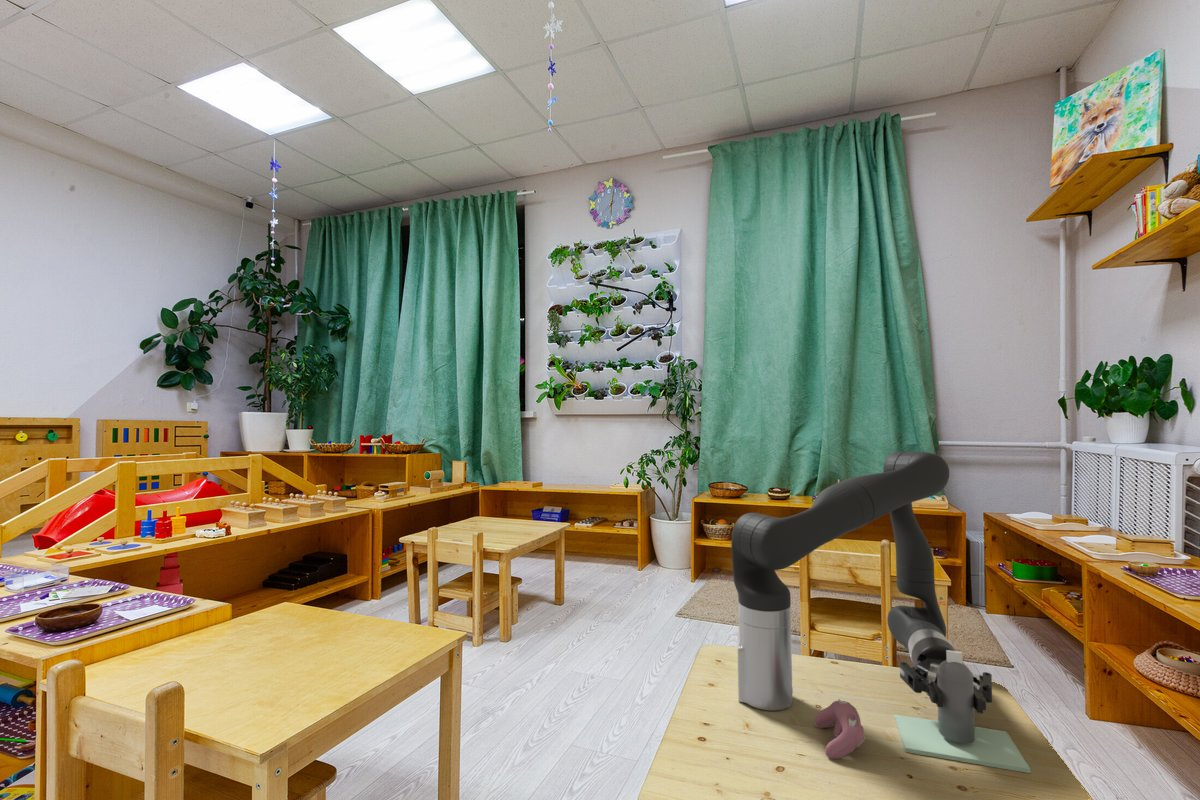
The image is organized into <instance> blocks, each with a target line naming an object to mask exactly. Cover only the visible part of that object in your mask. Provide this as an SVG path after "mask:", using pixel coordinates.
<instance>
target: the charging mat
mask: <svg viewBox="0 0 1200 800" xmlns="http://www.w3.org/2000/svg"><path fill="white" fill-rule="evenodd" d="M894 720H895V721H894V722H895V724H896V726H897V730H898V733H899V736H900V740H901V743H902V746H903V748H904V752H905V753H909V754H910V753H911V754H915V755H916V754H917V755H921V756H929V757H933V758H940V759H946V760H951V761H957V762H963V763H967V764H968V763H970V764H975V765H981V766H986V767H993V768H997V769H1004V770H1009V771H1013V772H1014V771H1016V772H1019V773H1020V772H1021V773H1028V774H1031V773H1032V772H1031V768H1030V766H1029V764H1028V763H1027V762H1026V761H1027V760H1025V758H1024V757H1023V755H1022V754H1021V752H1020V751H1019V749H1018V747H1017V745H1016V744H1015V743H1014V742H1013V741H1014V740H1012V738H1011V737H1010V735H1009V734H1008V732H1007V731H1005V730H999V729H992V728H985V727H979V726H975V741H974V742H972V743H959V742H955V741H952V740H949V739H947V738H945V737H944V736H942V735H941V734H940V732H939V725H938V720H934V719H927V718H920V717H913V716H906V715H900V714H894Z"/></svg>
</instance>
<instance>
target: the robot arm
mask: <svg viewBox="0 0 1200 800" xmlns="http://www.w3.org/2000/svg"><path fill="white" fill-rule="evenodd" d="M882 469H883V472H878V473H871V474H865V475H859V476H854V477H853V476H852V477H850V478H847V479H843V480H841V481H839V482H836V483H834V484H831V485H830V486H827V487H826V488H824V489H823V490H822V491H820V492H819V494H818V495H817V496H816V498H815V499H814V501H813V503H812V505H811V506H810V507H809V508H808V509H806V510H803V511H802V512H800V513H796V514H794V515H793V514H792V515H789V516H785V517H777V516H776V517H775V516H771V515H767V514H763V513H758V512H747V513H745V514H742V515H741V516H740V517H738V519H737V520H736V521H735V524H734V525H733V529H732V533H731V544H730V545H731V559H732V561H731V562H732V577H733V583H734V587H735V589H736V591H737V598H738V599H737V600H738V601H737V602H738V647H737V680H738V681H737V683H738V685H737V687H738V688H737V690H738V692H737V693H738V694H737V695H738V697H737V698H738V702H740V703H745V704H747V705H749V706H751V707H753V708H756V709H759V710H763V711H764V710H765V711H774V712H775V711H782V710H785V709H787V708H789V707H792V706H791V705H792V704H793V699H794V698H793V693H794V692H793V688H794V687H793V661H792V660H793V657H792V656H793V655H792V654H793V653H792V649H793V647H792V610H791V609H792V607H791V605H792V602H791V601H792V599H791V591H790V589H789V588H788V586H787V585H786V583H784V582H783V581H782V580H781V579H780V577H779V576H778V574H777V572H776V571H779V570H783V569H787V568H788V567H791V566H792V565H794V564H796V563H797V562H799V561H800V560H802V559H803V558H805V557H806V556H808V555H809V554H811V553H812V552H814V551H815V550H817V549H818V548H820V547H821V546H823V545H825V544H827V543H829V542H832V541H834V540H835V539H838V538H840V537H842V536H844V535H845V534H848V533H849V532H853V531H855V530H858V529H860V528H862V527H864V526H866V525H868V524H869V523H871V522H873V521H875V520H877V519H879V518H881V517H883V516H885V515H888V514H889V515H890V517H889V518H890V523H891V526H892V531H893V532H892V533H893V536H894V545H895V561H896V562H895V564H896V565H895V567H896V569H895V570H896V571H895V573H896V575H895V576H896V579H895V580H896V587H897V590H898V591H899V593H901V594H903V595H906V596H909V597H913V598H916V599H919V600H920V601H922V602H923V605H924V607H919V606H911V605H909V606H908V605H896V606H892V607H891V609H889V612H888V614H887V620H886V621H887V622H886V623H887V627H888V629H889V631H890V633H891V635H892V637H893V638H894V639H895V640H896V641H897V642H898V643H899V644H900V645H902V646H903V647H904V648H906V649H907V650H908V653H909V658H910V660H911V662H912V664H913V665H909V664H908V663H907V662H904V661H900V662H899V678H900V679H901V680H902V681H903V682H904V683H905V684H906V685H907V686H908V687H909V688H910V689H911V690H912V691H913V692H914V693H917V694H922V693H923V692H924V693H926V696H928V698H929V700H930V701H931V703H933V704H935V705H936V707H937V708H938V707H942V708H943V695H942V692H941V690H940V688H939V687H938V685H937V669H938V666H939V665H940V664H941V663H942V662H943V661H945V660H947V655H946V650H951V651H957V650H956V649H955V647H954V646H953V644H952V643H951V641H949V639H948V638H947V626H946V622H945V620H944V616H943V614H942V611H941V609H940V605H939V601H938V598H937V593H936V583H935V581H936V580H935V559H934V555H933V551H932V548H931V546H930V544H929V541H928V540H927V538H926V536H925V534H924V532H923V531H922V529H921V527H920V525H919V523H918V520H917V519H916V516H915V513H914V510H913V509H914V508H913V503H915V502H918V501H920V500H924V499H927V498H931V497H933V496H936V495H938V494H939V493H940V492H942V490H944V489H945V487H946V486H947V484H948V482H949V478H950V468H949V466H948V463H947V462H946V460H945V459H944V458H943V457H941V456H940V455H938V454H935V453H934V452H928V451H894V452H892V453H889V455H887V457H886V458H885V460H884V463H883V468H882ZM963 664H965V663H964V662H963ZM971 673H972V675H973V687H974V711H976V713H978V714H984V711H987V703H988V704H992V703H993V684H992V683H993V679H992V673H990V672H985V671H983V672H982V674H979V675H978V674H974V673H973V672H972V671H971Z"/></svg>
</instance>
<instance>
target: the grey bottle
mask: <svg viewBox="0 0 1200 800" xmlns="http://www.w3.org/2000/svg"><path fill="white" fill-rule="evenodd" d="M946 655H947V660H945V661H943V662H942V663H941V664H940V665H939V666H938V669H937V685H938V687H939V688H940V690H941V692H942V695H943V708H942V707H937V708H938V709H937V719H938V720H937V721H938V725H939V732H940V734H941V735H942V736H944V737H945V738H947V739H949V740H952V741H955V742H959V743H972V742H974V741H975V727H976V726H975V708H974V687H973V675H972V674H973V672H972V671H971V669H970V668H969V666H967V665H966V664H965V663H964V661H963V653H962V651H961V650H960V651H958V650H956V651H951V650H946ZM963 663H964V664H963ZM971 672H972V673H971Z"/></svg>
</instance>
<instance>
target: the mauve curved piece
mask: <svg viewBox="0 0 1200 800" xmlns="http://www.w3.org/2000/svg"><path fill="white" fill-rule="evenodd" d="M813 723H814V726H816V727H817V728H818V729H826V728H827V729H828V728H831V727H833V726H834V729H833V730H834V731H833V734H834V736H835V738H833V739H832V740H830V741H829V742H828V743H827V745H826V746H825V749H824V752H825V756H826V757H828V759H830V760H837V759H842V758H844V757H847V756H848V755H850V754H851V753H852V752H854V750H856V749H857V748H859V747H860V746H861V744H863V743H864V742H865V729H864V726H863V725H862V723H861V718H860V715H859V712H858V710H857V709H856V708H855V706H854V705H852V704H851V703H850V702H848V701H846V700H841V698H838V699H837V700H835V701H833V702H832V703H831V704H830V705H828V706H827V707H826V708H824V709H822V710H820V711H819V712H818V713H816V715H815V716H814V718H813Z"/></svg>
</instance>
